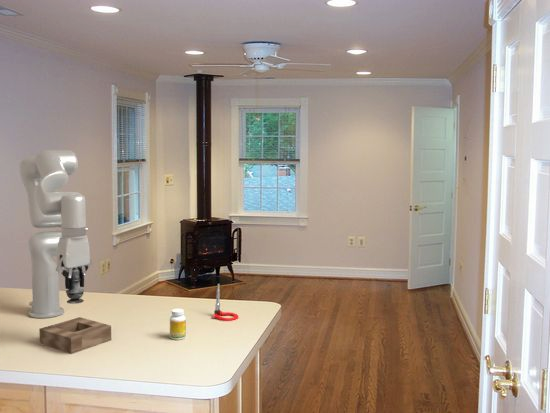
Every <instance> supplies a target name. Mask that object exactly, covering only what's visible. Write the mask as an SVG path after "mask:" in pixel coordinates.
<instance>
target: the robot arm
mask: <svg viewBox="0 0 550 413" xmlns="http://www.w3.org/2000/svg"><path fill="white" fill-rule="evenodd" d="M78 166H79V159H78V157H77V155H76V153H75V152H74V151H73V150H69V149H45V150H42V151H39V152H38V153H37V154H36V155H35V156H26V157H24V158H22V159H21V160H20V162H19V175H20V178H21V181H22V183H23V186H24V189H25V190H26V194H27V203H28V211H29V212H28V213H29V220H30V224H31V226H32V227H33V228H35V229H51V228H52V229H53V228H55V229H56V228H60V229H61V230H48V231H39V232H35V233H33V234H31V235H30V236H29V238H28V242H27V243H28V251H29V256H30V262H31V263H30V264H31V283H32V284H31V285H32V286H31V290H32V301H30V302H29V303H28V305H29V306H31V309H30V310H29V311H28V316H29V317H31V318H35V319H47V318H55V317H58V316H61V315H63V314H64V313H65V309H64V308H63V307H61V306H60V275H59V274H61V275H62V276H63V278H64V283H65V284H64V287H65V289H67V290H73V278H72V269H73V268H77V269H78V270H79V278H80V279H81V280H80V288H84V287H85V275H86V273H87V271H88V270H89V268H90V267H91V266H92V265H93V262H92V260H91V251H90V250H91V249H90V243H89V238H88V235H87V231H88V230H89V228H88V227H87V225H86V224H87V218H86V216H87V215H86V211H87V210H86V197H85V195H83V194H81V193H80V192H78V191H59V190H61V189H63V187H65V186H66V185H67V183H68V182H69V177H70V176H72V175H74V174H75V173H76V172H77V170H78ZM53 257H56V262H55V261H54V259H52V258H53Z"/></svg>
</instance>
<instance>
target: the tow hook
mask: <svg viewBox="0 0 550 413" xmlns="http://www.w3.org/2000/svg"><path fill="white" fill-rule="evenodd" d="M220 288H221V286H220V283H217V288H216V300H215V308H214V311H213V312H214V313H213V315H211V318H212V319H213V320H214V319H217V320H218V321H219V320H220V321H222V320H223V321H222V322H232V321H233V320H234V321H237V320H238V319H239V317H240V316H239V314H237V313H234V312H229V311H228V312H227V311H226V312H223V311H222V310H221V309H220V307H221V304H220V299H221V297H220V296H221V289H220ZM224 316H229V317H224ZM230 316H231V317H230ZM236 319H237V320H236ZM234 321H233V322H234Z"/></svg>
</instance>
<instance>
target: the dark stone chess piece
mask: <svg viewBox="0 0 550 413" xmlns="http://www.w3.org/2000/svg"><path fill="white" fill-rule="evenodd" d="M72 278H73V290H69V289H67V290H65V293H66V296H67V297H68V299H67V301H66V303H67V304H72V305H74V304H75V305H76V304H77V305H78V304H81V303H83V302H84V301H85V300H84V299H82V297H83V296H84V292H85V289H83V288H82V287H80V280H81V279H80V278H79V270H78V269H77V267H75V268H72Z"/></svg>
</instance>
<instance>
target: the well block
mask: <svg viewBox="0 0 550 413" xmlns="http://www.w3.org/2000/svg"><path fill="white" fill-rule="evenodd" d="M110 341H112V325H110V324H106V323H103V322H99V321H95V320H92V319H89V318H88V319H87V318H83V317H81V316H80V317H75V318H73V319H69V320H66V321H62V322H58V323H54V324H50V325H48V326H44V327H41V328H39V344H40V345H43V346H46V347H49V348H52V349H56V350H58V351H61V352H65V353H68V354H71V355H73V354H75V353H78V352H81V351H84V350H87V349H90V348H92V347H96V346H98V345H102V344H105V343H107V342H110Z"/></svg>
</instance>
